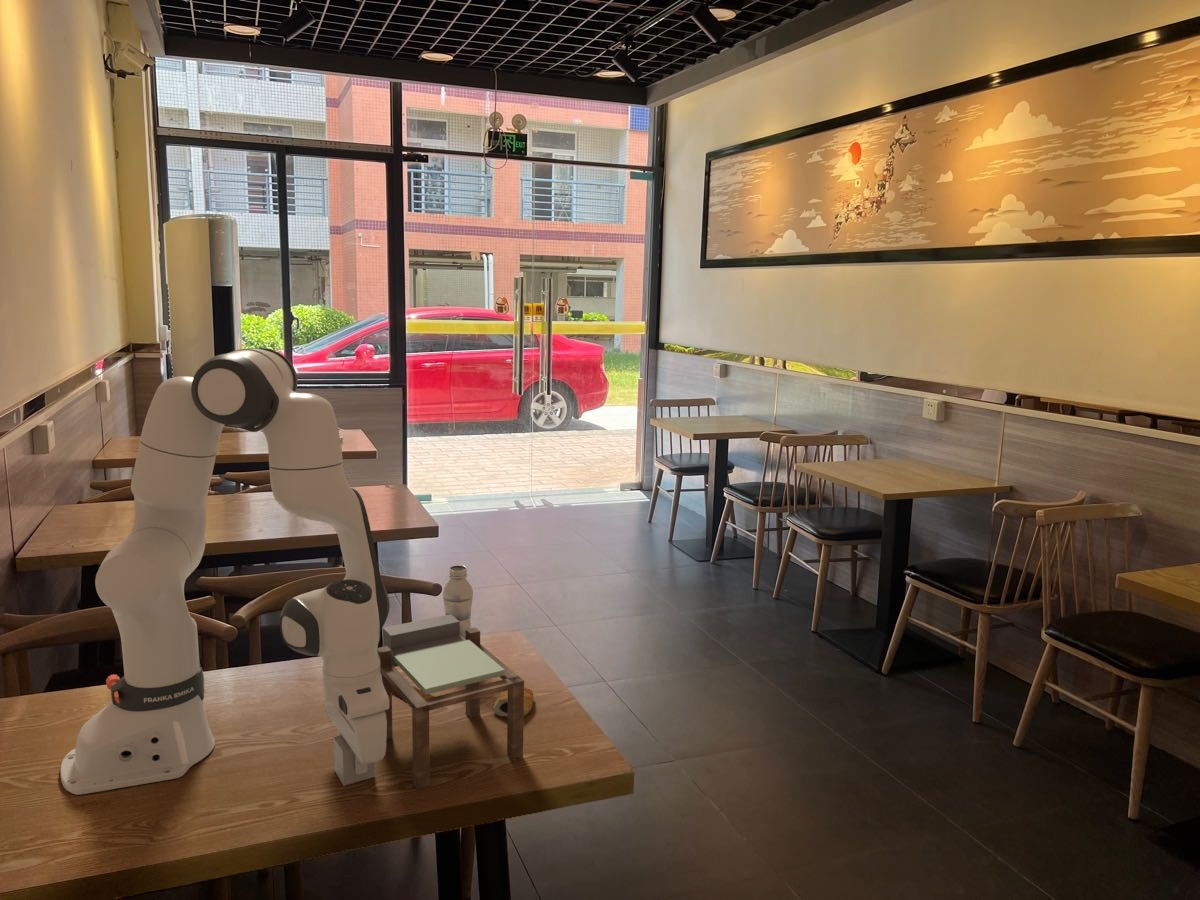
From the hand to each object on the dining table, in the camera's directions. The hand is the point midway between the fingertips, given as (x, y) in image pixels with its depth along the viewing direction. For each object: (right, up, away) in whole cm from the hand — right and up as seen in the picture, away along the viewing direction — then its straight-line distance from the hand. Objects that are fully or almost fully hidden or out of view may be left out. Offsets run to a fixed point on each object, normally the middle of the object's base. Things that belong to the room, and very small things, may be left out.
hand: (354, 761), depth 140 cm
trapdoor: (+12, +12, +10) cm, 20 cm away
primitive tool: (+2, +3, +29) cm, 29 cm away
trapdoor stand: (+14, -1, +9) cm, 17 cm away
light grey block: (0, -2, 0) cm, 2 cm away
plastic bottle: (+10, +6, +44) cm, 46 cm away
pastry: (+24, +1, +24) cm, 33 cm away
